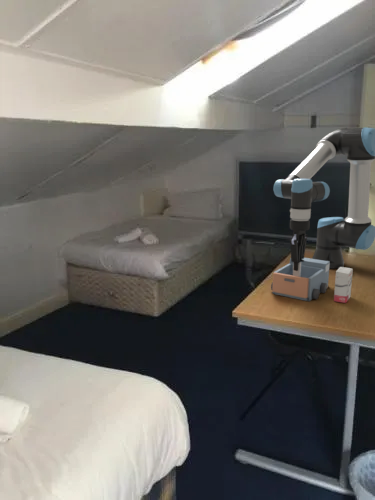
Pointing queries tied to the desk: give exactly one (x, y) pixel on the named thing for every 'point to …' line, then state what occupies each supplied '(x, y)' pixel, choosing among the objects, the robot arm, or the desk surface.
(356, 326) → the desk surface
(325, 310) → the desk surface
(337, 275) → the ink box
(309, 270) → the pickup bed
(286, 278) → the tailgate
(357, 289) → the desk surface
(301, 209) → the robot arm
